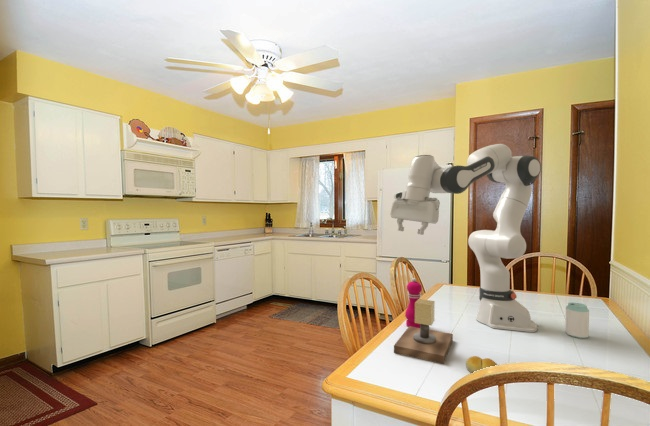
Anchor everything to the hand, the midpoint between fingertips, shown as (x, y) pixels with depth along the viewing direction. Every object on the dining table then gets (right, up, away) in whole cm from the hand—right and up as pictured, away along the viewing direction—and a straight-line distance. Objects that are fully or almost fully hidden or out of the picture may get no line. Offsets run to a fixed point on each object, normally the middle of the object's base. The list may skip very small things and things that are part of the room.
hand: (410, 232), depth 122 cm
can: (+64, -40, +2) cm, 76 cm away
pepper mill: (+5, -40, +12) cm, 41 cm away
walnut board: (+3, -40, -8) cm, 41 cm away
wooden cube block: (+3, -31, -8) cm, 32 cm away
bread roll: (+15, -41, -25) cm, 50 cm away
